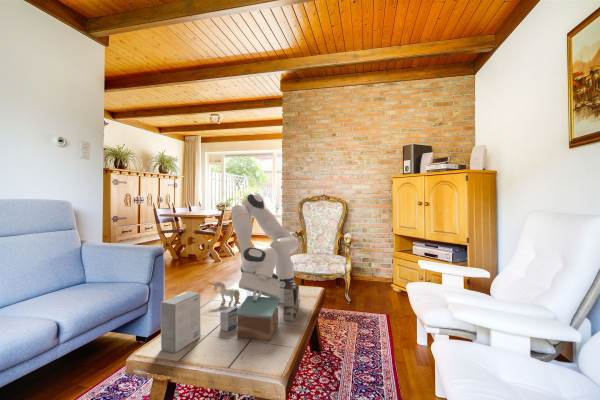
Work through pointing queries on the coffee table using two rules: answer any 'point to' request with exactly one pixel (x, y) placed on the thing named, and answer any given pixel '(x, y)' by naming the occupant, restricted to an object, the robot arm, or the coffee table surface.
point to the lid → (258, 307)
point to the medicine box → (228, 318)
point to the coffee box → (291, 302)
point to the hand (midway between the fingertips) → (254, 300)
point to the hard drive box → (180, 321)
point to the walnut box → (257, 327)
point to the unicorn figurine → (227, 292)
